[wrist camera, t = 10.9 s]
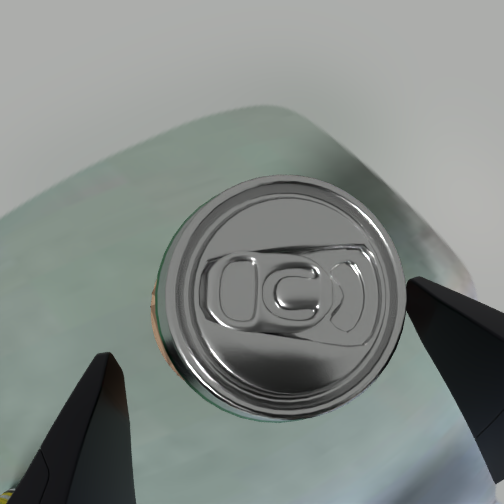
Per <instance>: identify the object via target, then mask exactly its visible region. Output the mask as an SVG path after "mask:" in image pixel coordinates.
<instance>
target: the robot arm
mask: <svg viewBox="0 0 504 504" xmlns="http://www.w3.org/2000/svg"><path fill="white" fill-rule="evenodd" d="M406 294H407V297H406V311H407V313H408V315H409V317H410V319H411V321H412V323H413V325H414V327H415V329H416V331H417V333H418V335H419V337H420V339H421V341H422V343H423V345H424V347H425V349H426V350H427V352H428V354H429V355H430V357H431V359H432V360H433V362H434V364H435V365H436V367H437V369H438V371H439V372H440V374H441V376H442V378H443V379H444V381H445V383H446V385H447V387H448V388H449V390H450V392H451V394H452V396H453V398H454V399H455V401H456V403H457V405H458V407H459V409H460V411H461V413H462V415H463V416H464V418H465V420H466V422H467V424H468V426H469V428H470V430H471V432H472V434H473V436H474V438H475V441H476V443H477V445H478V447H479V449H480V451H481V454H482V456H483V458H484V460H485V462H486V465H487V467H488V469H489V471H490V474H491V476H492V478H493V481H494V482H495V484H497V483H499V482H500V481H502V480H503V479H504V313H502V312H500V311H498V310H496V309H494V308H491V307H489V306H487V305H485V304H482V303H480V302H478V301H476V300H474V299H471V298H469V297H467V296H464V295H462V294H460V293H458V292H455V291H453V290H451V289H448V288H446V287H444V286H441V285H439V284H437V283H434V282H432V281H430V280H427V279H425V278H423V277H415V278H412V279H409V280H408V282H407V285H406ZM40 448H41V449H39V450H38V452H37V454H36V456H35V457H34V459H33V461H32V463H31V464H30V466H29V468H28V470H27V472H26V473H25V475H24V476H23V478H22V479H21V481H20V483H19V484H18V486H17V487H16V489H15V490H14V492H13V494H12V495H11V497H10V498H9V500H8V501H7V503H6V504H136V499H135V490H134V479H133V468H132V454H131V435H130V421H129V413H128V406H127V399H126V391H125V382H124V375H123V371H122V369H121V367H120V366H119V364H118V363H117V361H116V359H115V358H114V356H113V355H112V353H110V352H105V353H99V354H97V355H96V356H95V357H94V359H93V360H92V362H91V363H90V365H89V367H88V368H87V370H86V371H85V373H84V374H83V376H82V378H81V379H80V381H79V382H78V384H77V386H76V387H75V389H74V390H73V392H72V394H71V395H70V397H69V399H68V400H67V402H66V403H65V405H64V407H63V408H62V410H61V412H60V414H59V415H58V417H57V419H56V420H55V422H54V424H53V425H52V427H51V429H50V431H49V432H48V434H47V436H46V438H45V439H44V441H43V443H42V445H41V447H40Z"/></svg>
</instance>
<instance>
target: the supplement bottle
mask: <svg viewBox="0 0 504 504" xmlns="http://www.w3.org/2000/svg"><path fill="white" fill-rule="evenodd" d="M14 490H15V489H9V490H7V491H6V492H4V493H3V494H2V495H0V504H6V503H7V501H8V500H9V498H10V497H11V495H12V494H13V492H14Z"/></svg>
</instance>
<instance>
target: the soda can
mask: <svg viewBox="0 0 504 504" xmlns="http://www.w3.org/2000/svg"><path fill="white" fill-rule="evenodd" d="M406 297H407V294H406V284H405V276H404V272H403V268H402V264H401V260H400V257H399V255H398V252H397V250H396V248H395V245H394V243H393V241H392V239H391V238H390V236H389V234H388V233H387V231H386V229H385V228H384V226H383V225H382V224H381V223H380V221H379V220H378V219H377V218H376V216H375V215H374V214H373V213H372V212H371V211H370V210H369V209H368V208H367V207H366V206H365V205H364V204H363V203H362V202H360V201H359V200H357V199H356V198H355V197H353V196H352V195H350V194H349V193H347V192H346V191H344V190H342V189H340V188H338V187H336V186H334V185H332V184H330V183H327V182H324V181H321V180H318V179H315V178H310V177H304V176H299V175H272V176H264V177H258V178H255V179H252V180H248V181H245V182H242V183H240V184H237V185H235V186H233V187H231V188H229V189H227V190H225V191H224V192H222V193H221V194H218V195H216V196H214V197H213V198H211V199H210V200H209V201H207V202H206V203H204V204H203V205H201V206H200V207H199V208H198V209H196V210H195V211H194V212H193V213H192V214H191V215H190V216H189V217H188V218H187V219H186V220H185V221H184V223H183V224H182V225H181V227H180V228H179V229H178V231H177V232H176V233H175V235H174V236H173V238H172V240H171V242H170V243H169V245H168V247H167V249H166V251H165V253H164V256H163V259H162V262H161V265H160V268H159V271H158V276H157V282H156V289H155V314H156V320H157V325H158V331H159V335H160V337H161V340H162V343H163V346H164V348H165V351H166V353H167V355H168V357H169V359H170V360H171V362H172V364H173V366H174V367H175V369H176V371H177V372H178V373H179V374H180V376H181V377H182V378H183V379H184V380H185V382H186V383H187V384H188V385H189V386H190V387H191V388H192V389H193V390H194V391H195V392H196V393H198V394H199V395H200V396H201V397H202V398H203V399H205V400H206V401H208V402H209V403H211V404H213V405H214V406H216V407H218V408H219V409H221V410H223V411H225V412H228V413H230V414H233V415H235V416H238V417H240V418H245V419H249V420H254V421H259V422H274V423H282V422H291V421H299V420H303V419H306V418H312V417H316V416H319V415H323V414H326V413H329V412H332V411H334V410H336V409H338V408H340V407H342V406H344V405H346V404H348V403H349V402H351V401H352V400H353V399H355V398H356V397H358V396H359V395H360V394H362V393H363V392H364V391H365V390H366V389H367V388H368V387H369V386H370V385H371V384H372V383H373V382H374V381H375V380H376V379H377V378H378V377H379V375H380V374H381V373H382V371H383V370H384V369H385V367H386V366H387V365H388V363H389V361H390V359H391V357H392V355H393V354H394V352H395V350H396V348H397V345H398V342H399V339H400V336H401V333H402V330H403V325H404V320H405V315H406Z"/></svg>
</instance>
